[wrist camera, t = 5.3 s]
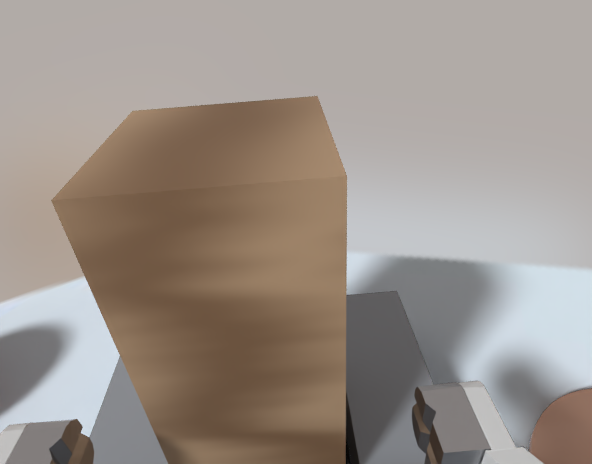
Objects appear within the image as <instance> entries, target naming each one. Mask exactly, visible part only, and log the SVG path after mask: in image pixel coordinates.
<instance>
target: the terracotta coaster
mask: <svg viewBox="0 0 592 464" xmlns="http://www.w3.org/2000/svg"><path fill="white" fill-rule="evenodd" d="M528 451H529V452H530V453H531V454H532V455H534V456H535V457H536V458H537V459H539V460H540V461H541V462H542V463H544V464H592V388H591V389H584V390H579V391H575V392H572V393H569V394H567V395H565V396H562V397H560V398H558V399H557V400H556V401H554V402H553V403H551V404H550V405H549V406H548V407H547V408H546V409H545V411H544V412H543V413H542V415H541V416H540V418H539V420H538V421H537V424H536V426H535V428H534V430H533V433H532V436H531V439H530V443H529V450H528Z"/></svg>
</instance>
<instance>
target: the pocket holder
mask: <svg viewBox="0 0 592 464" xmlns="http://www.w3.org/2000/svg"><path fill="white" fill-rule="evenodd" d="M427 385H434V384H433V382H432V379H431V377H430V374H429V371H428V369H427V366H426V364H425V361H424V359H423V356H422V354H421V351H420V349H419V346H418V343H417V341H416V338H415V336H414V333H413V331H412V328H411V326H410V323H409V321H408V318H407V315H406V313H405V310H404V308H403V305H402V303H401V300H400V298H399V295H398V292H397V291H390V292H378V293H367V294H355V295H346V437H347V443H348V449H349V455H350V461H351V464H424V463H425V457H426V454H425V453H424V452H423V451H422V450H421V449H420V448H419V447H418V445H417V442H416V438H415V435H414V430H413V425H412V407H413V406H414V405H415V404H416V400H415V397H414V394H415V389H416V388H417V387H418V386H427ZM89 438H90V440H91V441H92V443H93V448H94V460H93V464H168V462H167V460H166V458H165V455H164V453H163V451H162V449H161V446H160V444H159V442H158V440H157V437H156V435H155V433H154V431H153V428H152V426H151V424H150V422H149V419H148V417H147V415H146V413H145V410H144V408H143V406H142V404H141V401H140V399H139V397H138V395H137V392H136V390H135V388H134V386H133V383H132V381H131V379H130V377H129V374H128V372H127V370H126V368H125V365H124V363H123V361H122V359H121V356H120V357H119V360H118V363H117V365H116V368H115V371H114V373H113V376H112V379H111V381H110V384H109V387H108V389H107V392H106V395H105V397H104V400H103V403H102V405H101V408H100V411H99V413H98V416H97V419H96V421H95V424H94V427H93V429H92V432H91V435H90V437H89Z"/></svg>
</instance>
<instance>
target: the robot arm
mask: <svg viewBox="0 0 592 464" xmlns="http://www.w3.org/2000/svg"><path fill="white" fill-rule="evenodd" d="M414 397H415V400H416V404H415V405H414V406H413V407H412V425H413V430H414V435H415V438H416V442H417V445H418V447H419V448H420V449H421V450H422V451H423V452H424V453H425V454H426V457H425V463H424V464H544V463H542V462H541V461H540V460H539V459H537V458H536V457H535V456H534V455H532V454H531V453H530V452H529V451H527V450H526V449H525V448H524V447H516V446H515V444H514V442H513V440H512V438H511V436H510V434H509V432H508V430H507V428H506V426H505V425H504V423H503V421H502V419H501V417H500V415H499V413H498V411H497V409H496V407H495V405H494V403H493V401H492V400H491V398H490V396H489V394H488V392H487V390H486V388H485V386H484V385H483V384H482V383H481V382H480V381H468V382H459V383H457V382H453V383H444V384H436V385H427V386H418V387H417V388H416V389H415V394H414ZM81 430H82V425H81V424H80V422H79V421H78V420H77V419H73V420H61V421H50V422H38V423H24V424H14V425H9V426H8V427H6V428H5V429H4V430H3V431H2V432H1V434H0V464H93V460H94V448H93V443H92V441H91V440H90V438H89V437H87V436H85V435H83V434H81Z"/></svg>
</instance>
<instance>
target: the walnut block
mask: <svg viewBox="0 0 592 464" xmlns="http://www.w3.org/2000/svg"><path fill="white" fill-rule="evenodd" d="M51 201H52V203H53V205H54V207H55V210H56V212H57V214H58V216H59V219H60V221H61V223H62V226H63V228H64V230H65V232H66V235H67V237H68V239H69V241H70V243H71V246H72V248H73V250H74V253H75V255H76V257H77V259H78V262H79V264H80V266H81V268H82V271H83V273H84V275H85V277H86V280H87V282H88V284H89V286H90V289H91V291H92V293H93V296H94V298H95V300H96V302H97V305H98V307H99V309H100V311H101V314H102V316H103V318H104V320H105V323H106V325H107V327H108V329H109V332H110V334H111V336H112V338H113V341H114V343H115V345H116V347H117V350H118V352H119V354H120V356H121V359H122V361H123V363H124V365H125V368H126V370H127V372H128V374H129V377H130V379H131V381H132V383H133V386H134V388H135V390H136V392H137V395H138V397H139V399H140V401H141V404H142V406H143V408H144V410H145V413H146V415H147V417H148V419H149V422H150V424H151V426H152V428H153V431H154V433H155V435H156V437H157V440H158V442H159V444H160V446H161V449H162V451H163V453H164V455H165V458H166V460H167V462H168V464H346V255H347V238H346V237H347V175H346V172H345V170H344V167H343V164H342V162H341V159H340V156H339V153H338V151H337V148H336V145H335V143H334V140H333V137H332V134H331V132H330V129H329V126H328V124H327V121H326V118H325V116H324V113H323V110H322V107H321V105H320V102H319V100H318V97H317V96H314V97H313V96H312V97H300V98H287V99H275V100H263V101H251V102H238V103H225V104H214V105H201V106H188V107H177V108H164V109H151V110H139V111H132V112H131V113H130V114H129V115H128V117H127V118H126V119H125V120H124V121H123V122H122V123H121V124H120V125H119V127H118V128H117V129H116V130H115V131H114V132H113V133H112V134H111V135H110V136H109V138H108V139H107V140H106V141H105V142H104V143H103V144H102V145H101V146H100V147H99V149H98V150H97V151H96V152H95V153H94V154H93V155H92V156H91V157H90V158H89V160H88V161H87V162H86V163H85V164H84V165H83V166H82V167H81V168H80V170H79V171H78V172H77V173H76V174H75V175H74V176H73V177H72V178H71V179H70V180H69V182H68V183H67V184H66V185H65V186H64V187H63V188H62V189H61V190H60V192H59V193H58V194H57V195H56V196H55V197H54V198H53V199H52V200H51Z"/></svg>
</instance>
